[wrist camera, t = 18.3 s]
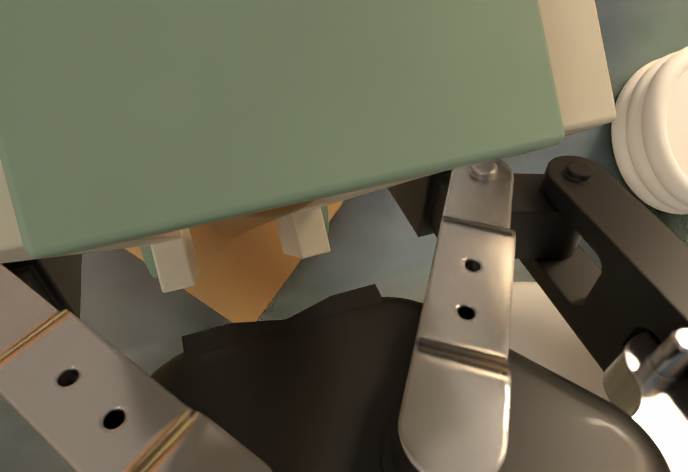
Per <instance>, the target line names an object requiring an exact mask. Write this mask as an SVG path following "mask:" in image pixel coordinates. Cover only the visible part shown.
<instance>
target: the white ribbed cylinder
mask: <svg viewBox="0 0 688 472" xmlns="http://www.w3.org/2000/svg"><path fill="white" fill-rule="evenodd" d="M615 108H616V113H617V115H616V119H614V120H613V121H612V127H611V136H612V146H613V152H614V156H615V159H616V163H617V166H618V168H619V170H620V173H621V175H622V177H623V178H624V180H625V182H626V183H627V185H628V186H629V187H630V189H631V190H632V191H633V192H634V193H635V195H636V196H637V197H638V198H640V199H641V200H642V201H643V202H645V203H646V204H648V205H649V206H651V207H653V208H655V209H657V210H660V211H663V212H667V213H671V214H688V47H686V48H683V49H681V50H680V51H678V52H674V53H671V54H669V55H667V56H664V57H663V58H660V59H657V60H654V61H652V62H650V63H648V64H646V65H645V66H643V67H642V68H640V69H639V70H638V71H637V72H636V73H635V74H634V75H633V76H631V78H630V79H629V80H628V81H627V82H626V84H625V85H624V87H623V89H622V90H621V92H620V94H619V96H618V99H617V101H616V104H615Z"/></svg>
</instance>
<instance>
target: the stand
mask: <svg viewBox="0 0 688 472" xmlns="http://www.w3.org/2000/svg"><path fill="white" fill-rule="evenodd" d="M313 201H314V200H312V201H307V202H303V203H298V204H294V205H289V206H285V207H280V208H276V209H271V210H267V211H262V212H258V213H253V214H249V215H244V216H240V217H235V218H231V219H226V220H222V221H217V222H213V223H208V224H203V225H199V226H194V227H190V228H189V229H190V234H191V238H192V242H193V246H194V250H195V254H196V258H197V262H198V266H199V270H200V275H199V277H198V279H197V281H196V283H195V285H194V286H191V287H187V288H183V289H184V290H186V291H187V292H188V293H190V294H191V295H193V296H194V297H196V298H197V299H199V300H200V301H202V302H203V303H205V304H206V305H207V306H209V307H210V308H212V309H213V310H215V311H216V312H218V313H219V314H221V315H222V316H223V317H225V318H226V319H228V320H229V321H231V322H232V323H237V322H255V321H257V320H258V318H259V317H260V316H261V314H262V313H263V312H264V310H265V309H266V307H267V306H268V305H269V303H270V302H271V301H272V299H273V298H274V296H275V295H276V294H277V292H278V291H279V290H280V288H281V287H282V286H283V284H284V283H285V281H286V280H287V279H288V277H289V276H290V275H291V273H292V272H293V270H294V269H295V268H296V266H297V265H298V264H299V262H300V261H301V260H302V258H300V257H295V256H291V255H287V254H284V253H283V249H282V245H281V240H280V236H279V232H278V228H277V223H276V219H278V218H281V217H283V216H286V215H288V214H291V213H293V212H296V211H298V210H300V209H302V208H304V207H305V206H307V205H308V204H310V203H311V202H313ZM342 203H343V202H342V201H340V202H336V203H333V204H330V205H328V211H329V221H330V220H331V218H332V217H333V216H334V214H335V213H336V212H337V210H338V209H339V208H340V206H341V205H342ZM124 249H126V250H127V251H129V252H130V253H132V254H133V255H135V256H136V257H138V258H139V259H140V260H142V261H143V262H145V261H144V259H143V256H142V253H141V250H140V247H133V248H124Z"/></svg>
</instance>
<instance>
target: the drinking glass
mask: <svg viewBox="0 0 688 472" xmlns="http://www.w3.org/2000/svg"><path fill="white" fill-rule="evenodd" d="M509 348H510V349H511V350H513V351H515V352H517V353H519V354H521V355H523V356H525V357H526V358H528V359H530V360H532V361H534V362H536V363H538V364H540V365H541V366H543V367H545V368H547V369H549V370H551V371H553V372H555V373H556V374H558V375H560V376H562V377H564V378H566V379H568V380H570V381H572V382H573V383H575V384H577V385H579V386H581V387H583V388H585V389H587V390H588V391H590V392H592V393H594V394H596V395H598V396H600V397H602V398H603V399H605V400H607V401H610V400H609V398H608V397H607V395H606V392H605V390H604V386H603V376H604V372H603V370H602V369H601V368H600V366H599V365H598V364H597V362H596V361H595V360H594V358H593V357H592V356H591V354H590V353H589V352H588V350H587V349H586V348H585V346H584V345H583V344H582V342H581V341H580V340H579V338H578V337H577V336H576V334H575V333H574V332H573V330H572V329H571V328H570V326H569V325H568V324H567V322H566V321H565V319H564V318H563V317H562V315H561V314H560V313H559V311H558V310H557V309H556V307H555V306H554V305H553V303H552V302H551V301H550V299H549V298H548V297H547V295H546V294H545V293H544V291H543V290H542V289H541V287H540V286H539V285H538V283H537V282H536V281H523V282H520V281H513V289H512V305H511V322H510V338H509Z"/></svg>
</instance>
